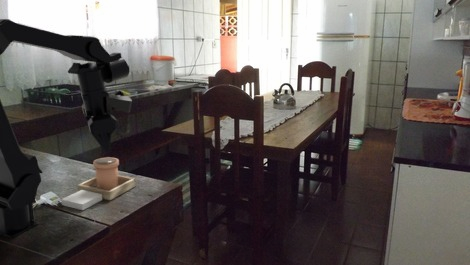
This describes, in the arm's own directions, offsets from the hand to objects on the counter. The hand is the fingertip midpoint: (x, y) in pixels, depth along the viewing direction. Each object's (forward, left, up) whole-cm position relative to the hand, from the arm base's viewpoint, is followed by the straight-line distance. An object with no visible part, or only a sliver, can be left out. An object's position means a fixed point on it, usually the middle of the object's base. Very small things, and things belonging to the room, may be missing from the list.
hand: (105, 145), depth 97 cm
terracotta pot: (0, 0, -12) cm, 12 cm away
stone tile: (-9, 0, -12) cm, 15 cm away
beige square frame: (0, 0, -12) cm, 12 cm away
